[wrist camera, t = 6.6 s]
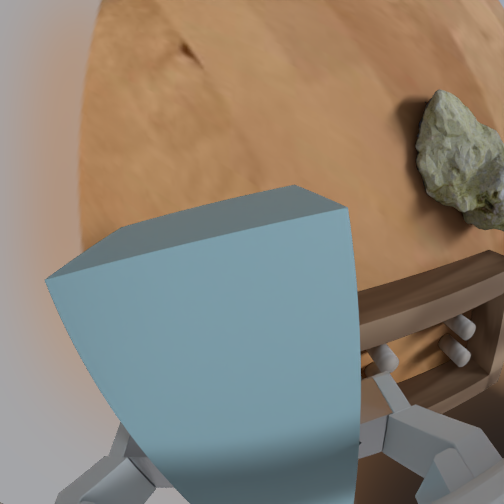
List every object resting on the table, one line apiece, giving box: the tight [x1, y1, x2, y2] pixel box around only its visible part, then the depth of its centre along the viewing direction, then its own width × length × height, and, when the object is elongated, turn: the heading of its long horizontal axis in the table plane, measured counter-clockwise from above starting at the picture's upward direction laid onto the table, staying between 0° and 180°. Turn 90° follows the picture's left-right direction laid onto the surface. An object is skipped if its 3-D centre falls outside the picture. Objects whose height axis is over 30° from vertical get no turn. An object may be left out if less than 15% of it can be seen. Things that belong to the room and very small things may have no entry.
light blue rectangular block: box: [45, 185, 361, 504], centre depth 8 cm, size 12×5×4 cm, turn 13°
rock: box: [416, 90, 504, 231], centre depth 17 cm, size 11×6×10 cm
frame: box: [357, 250, 504, 414], centre depth 21 cm, size 13×19×4 cm
